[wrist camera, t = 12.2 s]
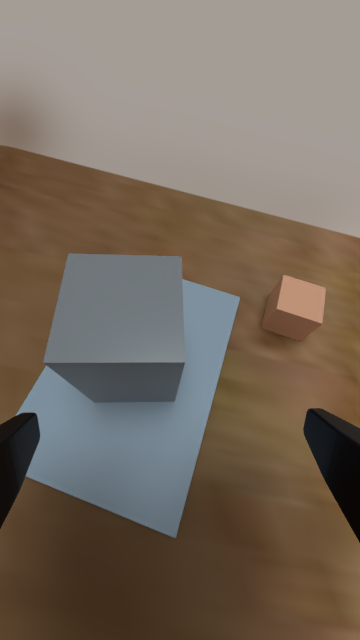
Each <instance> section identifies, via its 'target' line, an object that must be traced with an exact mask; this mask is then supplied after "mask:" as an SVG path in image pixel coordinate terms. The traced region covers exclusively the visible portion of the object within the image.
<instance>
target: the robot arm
mask: <svg viewBox="0 0 360 640" xmlns="http://www.w3.org/2000/svg"><path fill="white" fill-rule="evenodd" d="M304 435H305V438H306V440H307V442H308V445H309V447H310V449H311V451H312V453H313V456H314V458H315V460H316V462H317V465H318V467H319V469H320V471H321V473H322V475H323V477H324V480H325V481H326V483H327V485H328V487H329V489H330V491H331V492H332V494H333V496H334V498H335V500H336V501H337V503H338V505H339V507H340V508H341V510H342V512H343V514H344V516H345V517H346V519H347V521H348V523H349V524H350V526H351V528H352V530H353V531H354V533H355V535H356V537H357V539H358V540H359V542H360V428H358V427H356V426H354V425H352V424H351V423H349V422H347V421H345V420H343V419H341V418H339V417H337V416H335V415H333V414H331V413H329V412H327V411H325V410H323V409H320V408H311V409H308V411H307V414H306V419H305V423H304ZM39 440H40V429H39V422H38V417H37V414H36V413H34V412H24V413H20V414H19V415H17V416H15V417H13V418H12V419H10V420H8V421H6V422H4V423H3V424H1V425H0V528H1V526H2V524H3V522H4V520H5V518H6V517H7V515H8V513H9V511H10V509H11V507H12V505H13V503H14V501H15V499H16V497H17V495H18V493H19V491H20V488H21V486H22V484H23V481H24V479H25V476H26V474H27V471H28V468H29V466H30V463H31V461H32V458H33V456H34V453H35V451H36V448H37V446H38V443H39Z"/></svg>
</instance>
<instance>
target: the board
mask: <svg viewBox="0 0 360 640" xmlns="http://www.w3.org/2000/svg"><path fill="white" fill-rule="evenodd" d="M182 286H183V314H184V343H185V365H184V369H183V373H182V376H181V380H180V384H179V388H178V392H177V395H176V399H175V402H108V403H94V402H93V401H91V400H90V399H89V398H88V397H86V396H85V395H84V394H83V393H81V392H80V391H79V390H77V389H76V388H75V387H74V386H72V385H71V384H70V383H68V382H67V381H66V380H65V379H63V378H62V377H61V376H60V375H58V374H57V373H56V372H54V371H53V370H52V369H51V368H49V367H48V366H47V365H46V367H45V369H44V370H43V372H42V374H41V375H40V377H39V378H38V380H37V382H36V383H35V385H34V387H33V388H32V390H31V392H30V393H29V395H28V396H27V398H26V400H25V401H24V403H23V405H22V406H21V408H20V410H19V411H18V413H17V414H16V416H17V415H19V414H20V413H24V412H34V413H36V414H37V417H38V422H39V429H40V440H39V443H38V446H37V448H36V451H35V453H34V456H33V458H32V461H31V463H30V466H29V468H28V471H27V474H26V477H28V478H31V479H33V480H36V481H38V482H41V483H43V484H45V485H48V486H50V487H53V488H55V489H57V490H60V491H62V492H65V493H67V494H70V495H72V496H74V497H77V498H79V499H82V500H84V501H86V502H89V503H91V504H94V505H96V506H99V507H101V508H103V509H106V510H108V511H111V512H113V513H115V514H118V515H120V516H123V517H125V518H127V519H130V520H132V521H135V522H137V523H140V524H142V525H144V526H147V527H149V528H152V529H154V530H156V531H159V532H161V533H164V534H166V535H169V536H171V537H173V538H176V535H177V532H178V528H179V524H180V520H181V517H182V513H183V509H184V505H185V502H186V498H187V494H188V490H189V487H190V483H191V479H192V475H193V472H194V468H195V464H196V460H197V457H198V453H199V449H200V446H201V442H202V438H203V434H204V431H205V427H206V423H207V419H208V416H209V412H210V408H211V404H212V401H213V397H214V393H215V389H216V386H217V382H218V378H219V374H220V371H221V367H222V363H223V360H224V356H225V352H226V348H227V345H228V341H229V337H230V333H231V330H232V326H233V322H234V318H235V315H236V311H237V307H238V303H239V300H240V297H238V296H234V295H231V294H228V293H225V292H222V291H219V290H215V289H212V288H209V287H206V286H203V285H199V284H196V283H193V282H190V281H187V280H183V279H182Z"/></svg>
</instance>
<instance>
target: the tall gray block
mask: <svg viewBox="0 0 360 640" xmlns="http://www.w3.org/2000/svg"><path fill="white" fill-rule="evenodd" d="M43 363H44V364H45V365H47V366H48V367H49V368H51V369H52V370H53V371H54V372H56V373H57V374H58V375H60V376H61V377H62V378H63V379H65V380H66V381H67V382H68V383H70V384H71V385H72V386H74V387H75V388H76V389H77V390H79V391H80V392H81V393H83V394H84V395H85V396H86V397H88V398H89V399H90V400H91V401H93V402H94V403H108V402H175V399H176V395H177V392H178V388H179V384H180V380H181V376H182V373H183V369H184V365H185V343H184V314H183V286H182V257H181V256H142V255H104V254H68V258H67V262H66V266H65V271H64V275H63V279H62V284H61V288H60V292H59V297H58V301H57V305H56V309H55V314H54V318H53V322H52V327H51V331H50V335H49V340H48V344H47V348H46V353H45V357H44V361H43Z"/></svg>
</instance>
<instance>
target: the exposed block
mask: <svg viewBox="0 0 360 640" xmlns="http://www.w3.org/2000/svg"><path fill="white" fill-rule="evenodd" d="M325 290H326V288H324V287H321V286H318V285H315V284H311V283H308V282H305V281H302V280H299V279H296V278H292V277H289V276H286V275H283V276H282V278H281V279H280V281H279V282H278V284H277V285H276V286H275V288H274V289H273V291H272V292H271V294H270V295H269V297H268V300H267V304H266V309H265V313H264V318H263V322H262V327H261V328H262V329H265V330H268V331H271V332H274V333H277V334H279V335H282V336H285V337H288V338H291V339H294V340H297V341H302V340H303V339H304V338H305V337H306V336H308V335H309V334H310V333H311V332H313V331H314V330H315V329H316V328H318V327H319V326H320V325H321V324H322V322H323V311H324V301H325Z"/></svg>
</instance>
